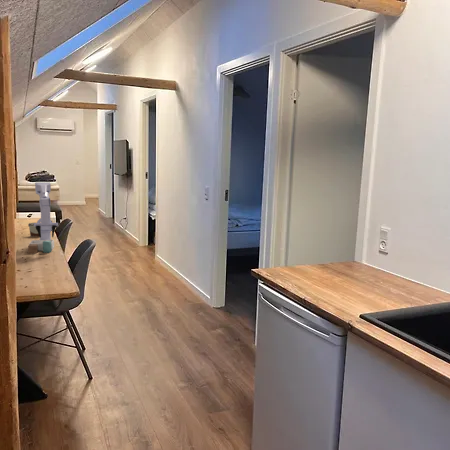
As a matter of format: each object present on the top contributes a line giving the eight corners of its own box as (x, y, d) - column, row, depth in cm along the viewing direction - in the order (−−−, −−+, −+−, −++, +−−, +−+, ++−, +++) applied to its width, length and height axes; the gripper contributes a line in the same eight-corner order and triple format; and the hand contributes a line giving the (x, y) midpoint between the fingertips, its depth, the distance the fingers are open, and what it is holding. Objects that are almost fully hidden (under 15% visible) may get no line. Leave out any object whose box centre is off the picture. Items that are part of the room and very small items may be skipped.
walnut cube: (29, 251, 292) (29, 244, 292) (38, 251, 294) (37, 244, 293) (28, 253, 288) (28, 245, 287) (36, 253, 289) (36, 245, 288)
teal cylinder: (43, 251, 294) (43, 240, 293) (51, 251, 296) (51, 240, 294) (42, 252, 290) (42, 242, 288) (50, 252, 291) (50, 242, 290)
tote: (32, 247, 305) (32, 240, 304) (54, 246, 308) (54, 239, 307) (29, 251, 294) (29, 243, 293) (52, 250, 297) (51, 243, 296)
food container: (47, 235, 349) (47, 222, 347) (43, 236, 343) (43, 223, 341) (32, 234, 350) (32, 222, 348) (28, 236, 344) (28, 223, 342)
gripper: (32, 217, 283) (33, 238, 285) (56, 217, 287) (57, 237, 289) (34, 215, 290) (35, 236, 292) (58, 215, 293) (58, 235, 296)
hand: (46, 237), depth 291 cm, fingers open, 7 cm apart
